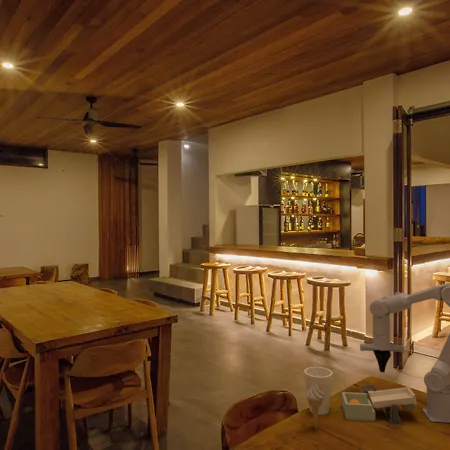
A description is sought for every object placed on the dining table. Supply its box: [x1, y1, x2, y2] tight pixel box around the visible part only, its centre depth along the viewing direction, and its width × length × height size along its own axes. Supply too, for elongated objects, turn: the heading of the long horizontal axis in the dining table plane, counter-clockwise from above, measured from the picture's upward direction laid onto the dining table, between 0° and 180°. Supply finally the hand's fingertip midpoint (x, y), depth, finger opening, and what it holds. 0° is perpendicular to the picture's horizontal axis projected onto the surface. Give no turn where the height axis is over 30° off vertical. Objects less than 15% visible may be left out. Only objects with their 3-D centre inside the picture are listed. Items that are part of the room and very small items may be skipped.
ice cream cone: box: [305, 381, 324, 430], centre depth 121 cm, size 6×6×15 cm
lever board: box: [361, 384, 418, 411], centre depth 132 cm, size 14×15×5 cm
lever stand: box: [381, 405, 404, 426], centre depth 128 cm, size 4×11×6 cm, turn 171°
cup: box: [341, 391, 376, 422], centre depth 129 cm, size 9×9×5 cm
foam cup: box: [303, 366, 334, 416], centre depth 132 cm, size 10×9×13 cm
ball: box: [349, 399, 360, 404], centre depth 130 cm, size 4×4×4 cm
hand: (382, 371), depth 140 cm, fingers closed
